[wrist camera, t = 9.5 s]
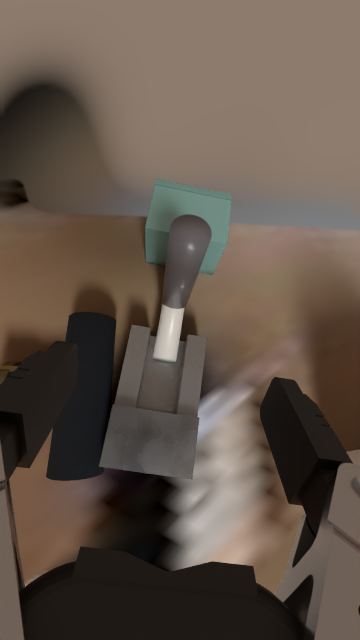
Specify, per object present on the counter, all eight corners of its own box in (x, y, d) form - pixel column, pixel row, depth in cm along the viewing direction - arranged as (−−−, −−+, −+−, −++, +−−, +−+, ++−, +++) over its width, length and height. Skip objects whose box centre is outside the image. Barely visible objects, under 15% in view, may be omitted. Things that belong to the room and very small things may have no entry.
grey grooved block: (108, 454, 26) (98, 466, 21) (134, 334, 30) (131, 321, 26) (184, 465, 27) (192, 479, 22) (199, 345, 31) (208, 335, 26)
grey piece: (150, 359, 29) (151, 321, 15) (174, 228, 35) (190, 120, 21) (176, 363, 29) (199, 330, 16) (196, 233, 35) (225, 128, 21)
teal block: (145, 262, 34) (144, 227, 27) (155, 220, 36) (156, 178, 29) (212, 274, 34) (227, 243, 28) (217, 232, 36) (232, 194, 30)
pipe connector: (-52, 485, 20) (-8, 307, 25) (-13, 469, 25) (17, 323, 30) (99, 479, 21) (113, 312, 26) (107, 465, 26) (118, 327, 31)
